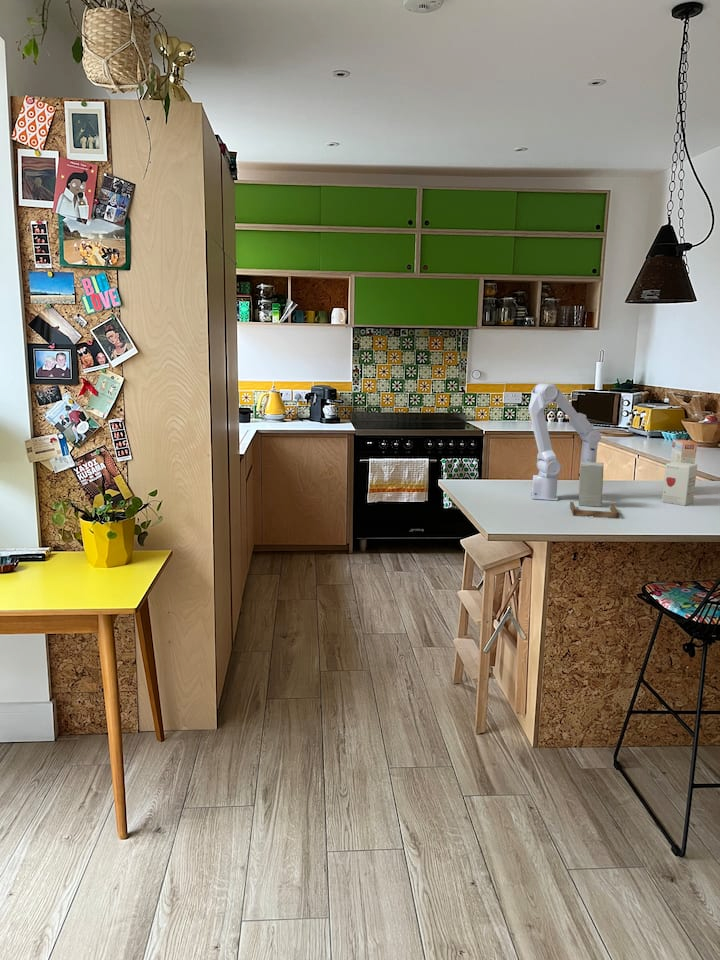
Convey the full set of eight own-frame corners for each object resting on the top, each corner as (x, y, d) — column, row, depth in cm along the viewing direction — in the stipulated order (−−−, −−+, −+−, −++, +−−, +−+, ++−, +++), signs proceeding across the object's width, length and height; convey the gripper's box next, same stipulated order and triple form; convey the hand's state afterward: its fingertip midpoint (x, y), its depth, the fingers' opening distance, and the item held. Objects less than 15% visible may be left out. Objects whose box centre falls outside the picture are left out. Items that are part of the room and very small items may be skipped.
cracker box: (692, 495, 286) (697, 443, 282) (676, 494, 287) (681, 443, 283) (682, 488, 300) (687, 439, 296) (667, 487, 301) (672, 438, 297)
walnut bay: (573, 515, 245) (573, 510, 245) (569, 507, 259) (570, 501, 259) (618, 518, 243) (619, 512, 242) (612, 509, 256) (613, 504, 256)
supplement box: (661, 502, 271) (664, 463, 268) (669, 498, 278) (673, 461, 275) (685, 506, 265) (689, 466, 262) (693, 502, 271) (698, 464, 269)
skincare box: (601, 504, 265) (604, 462, 262) (601, 508, 259) (604, 465, 256) (577, 502, 268) (581, 460, 265) (577, 505, 261) (580, 463, 258)
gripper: (601, 462, 265) (598, 498, 268) (597, 457, 279) (594, 490, 282) (582, 461, 267) (579, 497, 269) (578, 456, 281) (575, 489, 283)
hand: (585, 493), depth 276 cm, fingers open, 7 cm apart
